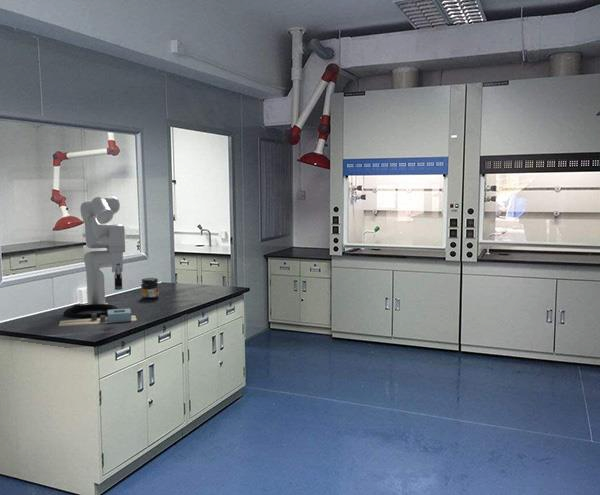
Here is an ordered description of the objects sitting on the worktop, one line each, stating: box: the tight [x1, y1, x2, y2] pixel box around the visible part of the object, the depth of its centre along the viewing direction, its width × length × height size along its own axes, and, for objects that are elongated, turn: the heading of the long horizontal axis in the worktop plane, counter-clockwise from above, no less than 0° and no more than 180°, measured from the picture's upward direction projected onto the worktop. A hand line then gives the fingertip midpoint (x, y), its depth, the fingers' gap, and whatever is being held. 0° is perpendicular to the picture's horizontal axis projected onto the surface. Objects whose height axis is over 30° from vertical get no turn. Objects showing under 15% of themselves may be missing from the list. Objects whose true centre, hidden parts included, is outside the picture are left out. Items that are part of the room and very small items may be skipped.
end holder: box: [107, 308, 133, 323], centre depth 280 cm, size 11×11×4 cm
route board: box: [58, 312, 137, 327], centre depth 276 cm, size 12×36×4 cm, turn 110°
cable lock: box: [63, 303, 119, 319], centre depth 295 cm, size 28×4×30 cm
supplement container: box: [140, 277, 160, 301], centre depth 339 cm, size 10×10×12 cm
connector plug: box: [113, 272, 123, 291], centre depth 278 cm, size 4×4×8 cm
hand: (118, 285), depth 278 cm, fingers closed on connector plug, 3 cm apart
